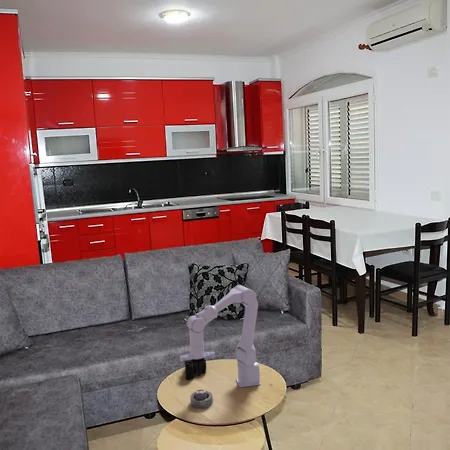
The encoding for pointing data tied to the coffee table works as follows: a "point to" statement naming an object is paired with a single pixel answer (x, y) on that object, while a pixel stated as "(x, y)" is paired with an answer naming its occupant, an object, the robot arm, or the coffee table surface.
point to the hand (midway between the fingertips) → (198, 375)
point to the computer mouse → (201, 395)
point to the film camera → (192, 369)
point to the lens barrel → (201, 401)
